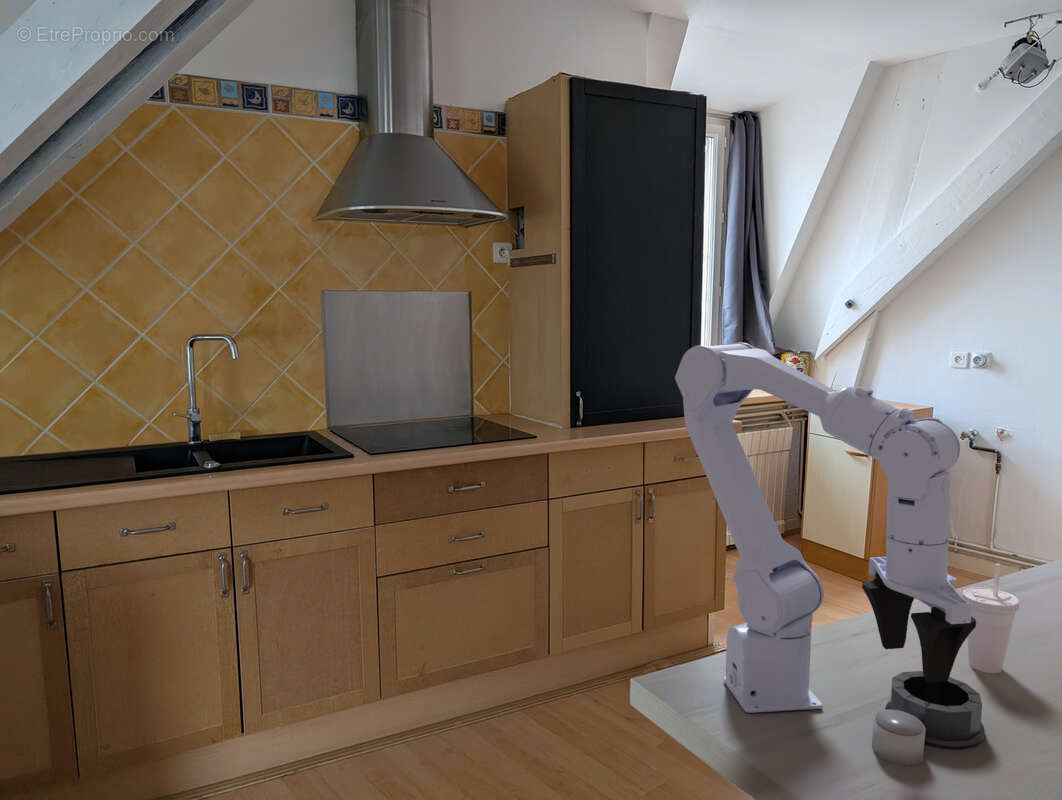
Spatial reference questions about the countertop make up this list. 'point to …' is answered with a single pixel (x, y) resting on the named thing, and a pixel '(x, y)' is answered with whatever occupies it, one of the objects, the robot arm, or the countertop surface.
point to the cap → (898, 737)
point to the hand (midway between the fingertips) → (913, 663)
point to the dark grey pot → (940, 709)
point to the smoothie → (990, 625)
